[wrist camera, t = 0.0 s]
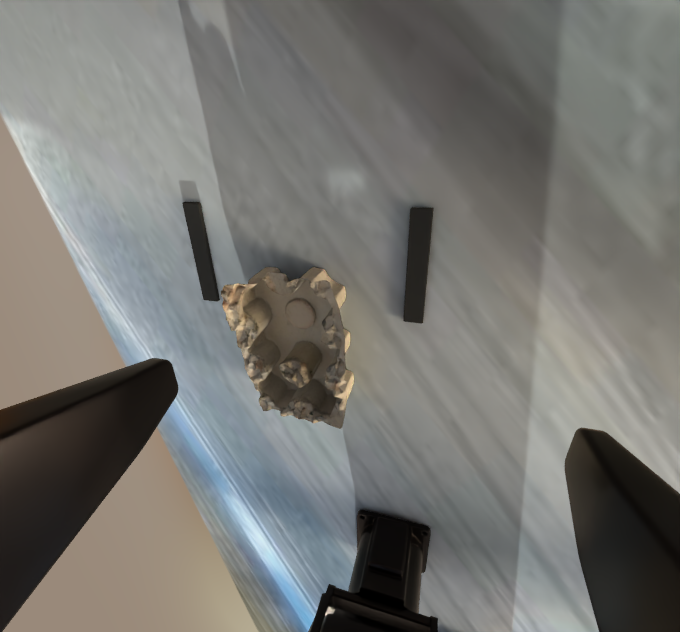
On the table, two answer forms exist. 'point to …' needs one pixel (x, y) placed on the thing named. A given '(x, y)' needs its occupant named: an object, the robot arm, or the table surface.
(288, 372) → the tan rough lump
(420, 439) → the table surface
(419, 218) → the bay strips
